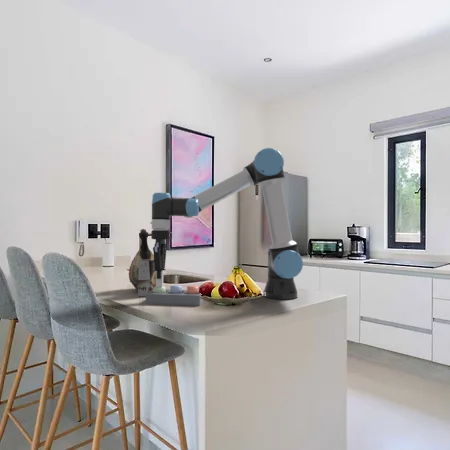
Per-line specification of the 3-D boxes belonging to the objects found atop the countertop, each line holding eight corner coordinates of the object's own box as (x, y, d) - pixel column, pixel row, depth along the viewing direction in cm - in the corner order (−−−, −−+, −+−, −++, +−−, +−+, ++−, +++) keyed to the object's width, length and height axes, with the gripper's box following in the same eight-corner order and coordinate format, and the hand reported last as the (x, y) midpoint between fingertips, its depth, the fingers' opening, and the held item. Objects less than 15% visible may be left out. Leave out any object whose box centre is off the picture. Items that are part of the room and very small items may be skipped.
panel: (204, 299, 152) (204, 290, 152) (199, 305, 140) (199, 295, 140) (154, 298, 154) (154, 288, 154) (145, 303, 142) (145, 293, 142)
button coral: (199, 295, 148) (199, 285, 148) (197, 297, 144) (197, 287, 144) (188, 295, 149) (188, 285, 149) (185, 297, 144) (186, 287, 144)
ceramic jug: (128, 288, 178) (129, 228, 179) (159, 287, 182) (160, 229, 182) (127, 294, 162) (128, 228, 162) (162, 293, 165) (162, 229, 166)
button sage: (166, 295, 150) (166, 286, 150) (163, 297, 145) (163, 288, 145) (155, 295, 150) (155, 285, 150) (152, 297, 145) (152, 287, 145)
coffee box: (151, 296, 156) (151, 260, 157) (137, 296, 158) (138, 260, 158) (158, 293, 165) (159, 258, 165) (146, 292, 167) (146, 258, 167)
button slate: (183, 294, 149) (183, 285, 149) (180, 297, 144) (180, 287, 144) (171, 294, 150) (172, 285, 150) (169, 296, 145) (169, 286, 145)
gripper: (156, 229, 155) (155, 283, 154) (146, 229, 142) (145, 288, 142) (173, 230, 154) (172, 284, 154) (165, 230, 141) (164, 289, 141)
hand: (159, 286), depth 148 cm, fingers closed
